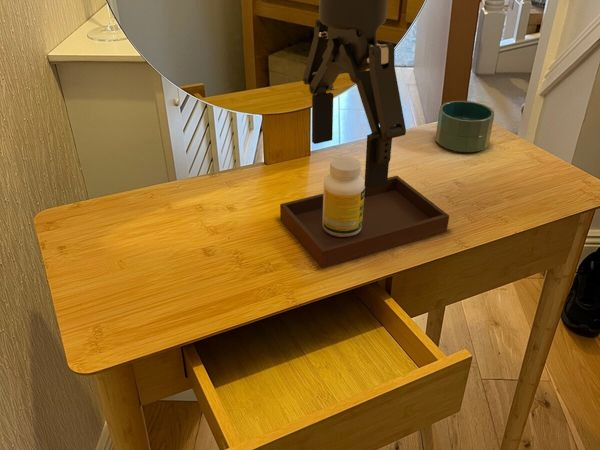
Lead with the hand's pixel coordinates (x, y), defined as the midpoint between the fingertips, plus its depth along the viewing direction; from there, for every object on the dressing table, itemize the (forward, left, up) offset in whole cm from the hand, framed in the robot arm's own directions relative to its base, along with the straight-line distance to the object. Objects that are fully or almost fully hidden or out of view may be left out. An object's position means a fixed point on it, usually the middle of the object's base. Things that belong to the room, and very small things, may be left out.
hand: (347, 161), depth 79 cm
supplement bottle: (0, 0, -10) cm, 10 cm away
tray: (-1, -3, -11) cm, 11 cm away
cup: (0, -36, -11) cm, 37 cm away
